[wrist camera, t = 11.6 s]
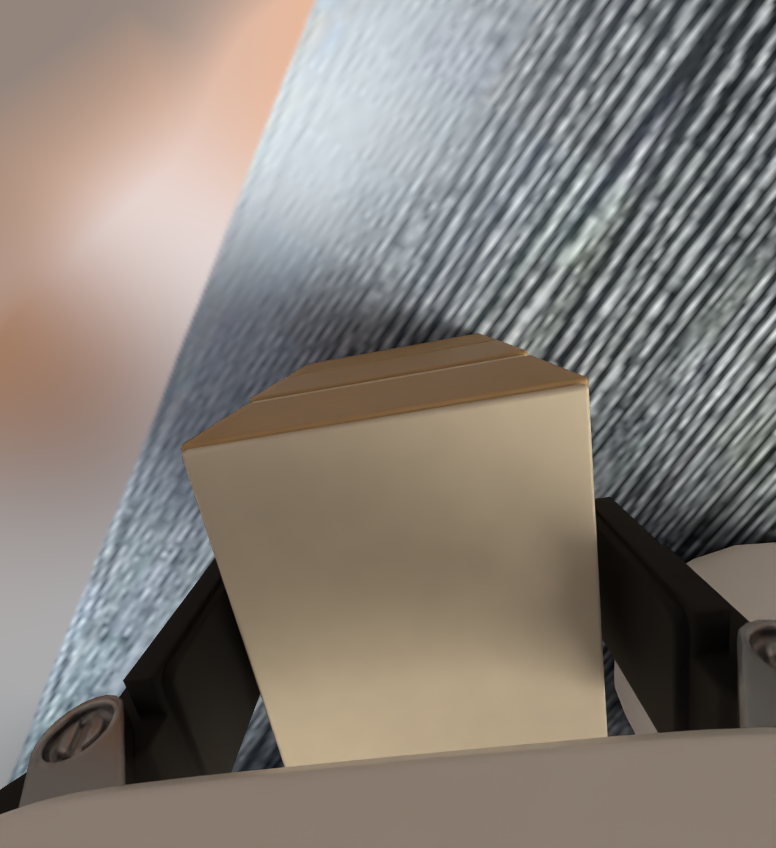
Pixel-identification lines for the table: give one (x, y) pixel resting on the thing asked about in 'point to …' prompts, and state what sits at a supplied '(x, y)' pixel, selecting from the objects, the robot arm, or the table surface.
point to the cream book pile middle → (390, 369)
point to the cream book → (413, 560)
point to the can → (739, 585)
